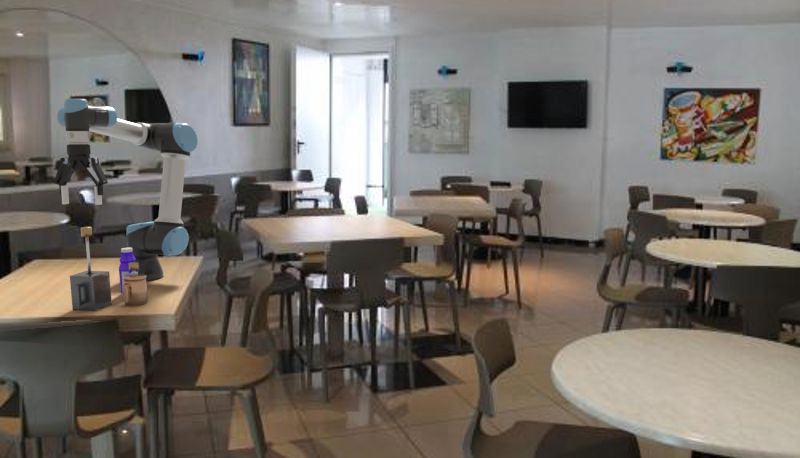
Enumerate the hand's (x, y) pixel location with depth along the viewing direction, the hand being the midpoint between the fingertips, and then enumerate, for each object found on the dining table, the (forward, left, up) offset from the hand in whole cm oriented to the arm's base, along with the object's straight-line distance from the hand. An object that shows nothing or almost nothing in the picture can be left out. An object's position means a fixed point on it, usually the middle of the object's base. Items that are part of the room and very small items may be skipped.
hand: (82, 204), depth 249 cm
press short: (-1, +17, -35) cm, 39 cm away
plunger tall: (+6, +5, -26) cm, 27 cm away
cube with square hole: (+8, +5, -35) cm, 37 cm away
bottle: (-15, +6, -36) cm, 39 cm away
